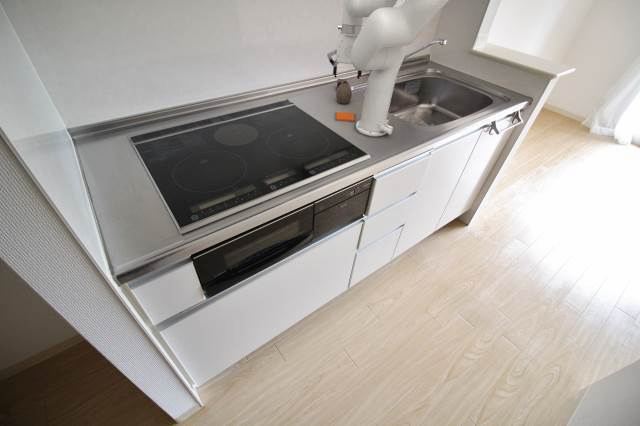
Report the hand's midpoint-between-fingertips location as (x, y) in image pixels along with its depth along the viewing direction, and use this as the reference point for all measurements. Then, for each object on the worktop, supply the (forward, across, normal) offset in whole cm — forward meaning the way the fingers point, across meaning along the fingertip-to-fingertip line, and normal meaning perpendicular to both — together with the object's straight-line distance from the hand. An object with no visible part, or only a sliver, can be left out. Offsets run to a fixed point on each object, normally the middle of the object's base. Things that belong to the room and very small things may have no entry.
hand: (346, 77), depth 120 cm
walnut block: (+10, -1, +16) cm, 19 cm away
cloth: (+11, 0, -14) cm, 18 cm away
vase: (+11, 0, +1) cm, 11 cm away
